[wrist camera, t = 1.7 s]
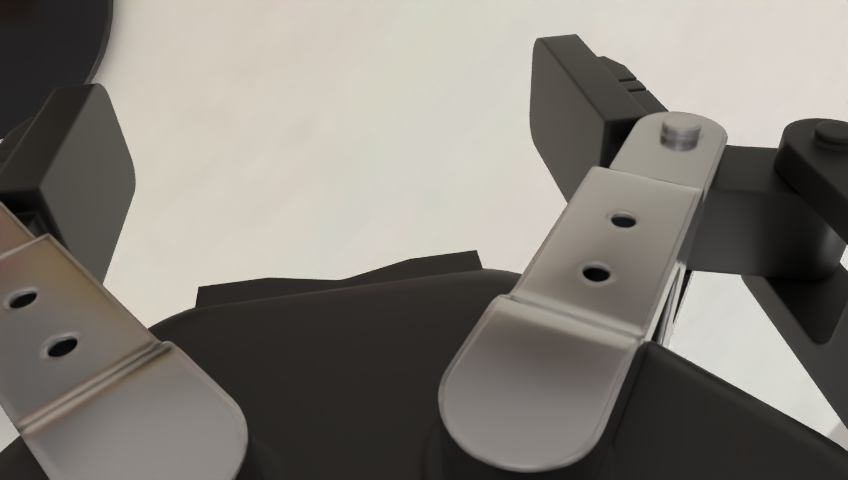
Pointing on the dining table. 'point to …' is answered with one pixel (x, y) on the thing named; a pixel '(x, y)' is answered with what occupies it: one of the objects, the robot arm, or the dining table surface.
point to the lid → (47, 51)
